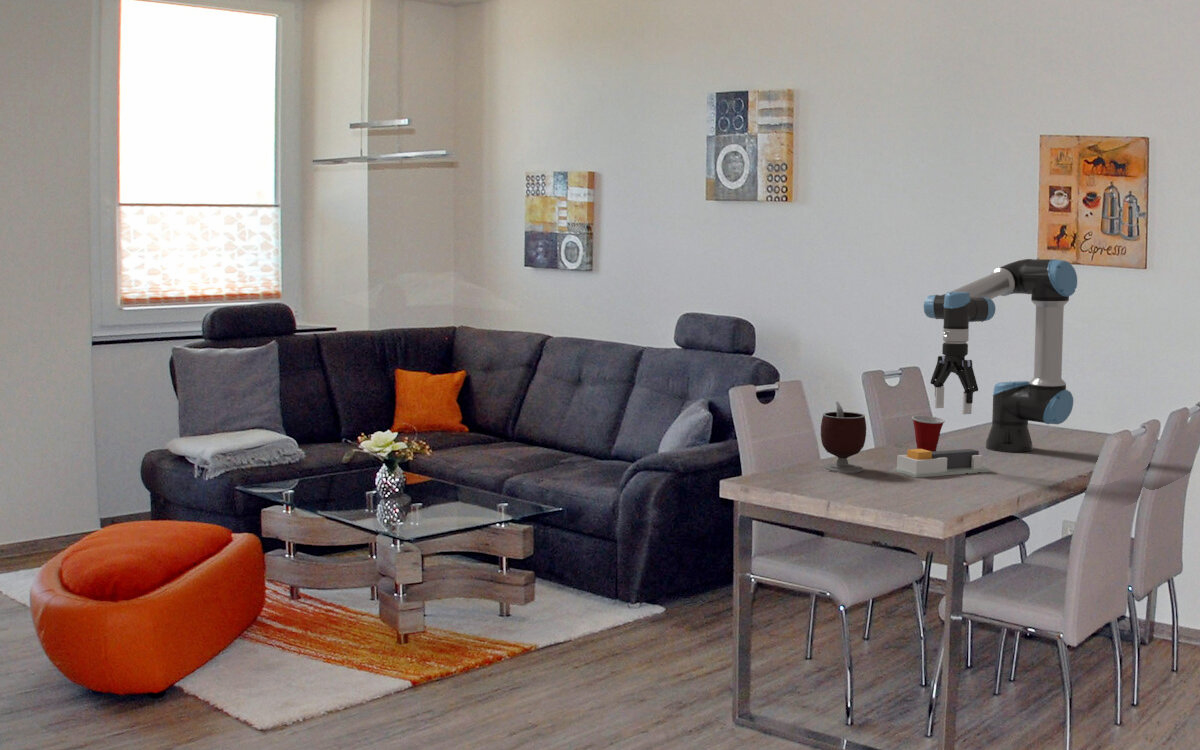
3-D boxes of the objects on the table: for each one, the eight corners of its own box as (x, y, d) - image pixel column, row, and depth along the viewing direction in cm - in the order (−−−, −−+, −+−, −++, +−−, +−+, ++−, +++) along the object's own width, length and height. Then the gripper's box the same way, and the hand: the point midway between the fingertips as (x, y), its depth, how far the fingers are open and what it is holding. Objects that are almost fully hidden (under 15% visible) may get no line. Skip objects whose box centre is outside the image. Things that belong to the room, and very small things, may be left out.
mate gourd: (870, 473, 384) (872, 408, 382) (825, 473, 383) (827, 408, 381) (856, 463, 400) (858, 401, 397) (813, 464, 399) (815, 401, 397)
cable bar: (968, 464, 395) (969, 445, 394) (979, 467, 390) (980, 448, 389) (906, 468, 386) (907, 449, 386) (917, 472, 381) (918, 452, 381)
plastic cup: (932, 457, 412) (934, 421, 411) (904, 453, 420) (905, 417, 418) (950, 453, 420) (951, 417, 418) (921, 449, 427) (922, 414, 426)
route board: (967, 465, 398) (967, 449, 397) (989, 471, 388) (990, 455, 387) (895, 470, 388) (895, 455, 388) (916, 477, 378) (916, 461, 377)
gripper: (920, 339, 395) (918, 406, 397) (971, 346, 372) (968, 417, 374) (940, 338, 398) (938, 404, 400) (992, 345, 375) (989, 415, 377)
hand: (952, 411), depth 387 cm, fingers open, 13 cm apart
